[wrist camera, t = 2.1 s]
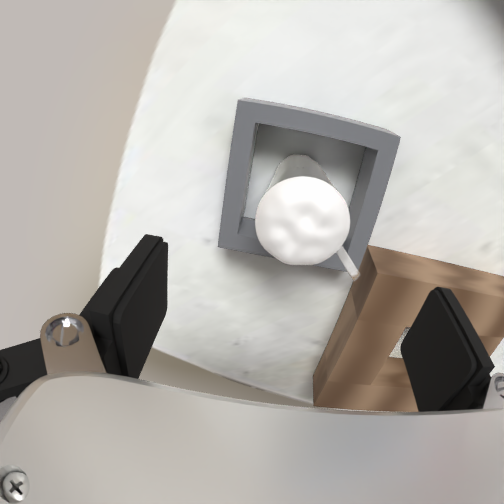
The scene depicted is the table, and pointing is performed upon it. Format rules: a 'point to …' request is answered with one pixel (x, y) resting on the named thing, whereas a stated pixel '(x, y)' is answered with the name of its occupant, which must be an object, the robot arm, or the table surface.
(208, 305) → the table surface
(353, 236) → the grey square frame
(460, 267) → the socket block
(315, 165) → the milkshake
